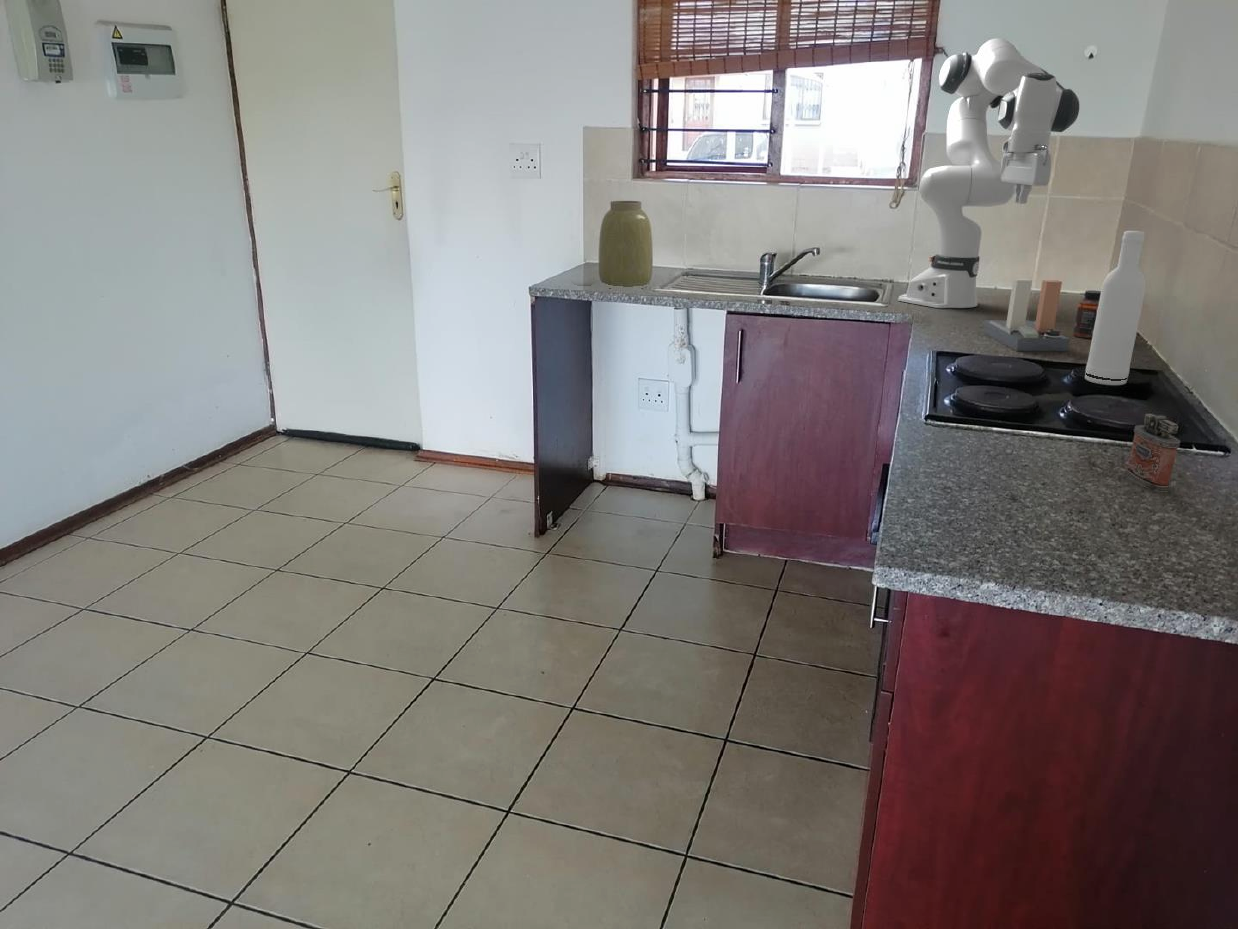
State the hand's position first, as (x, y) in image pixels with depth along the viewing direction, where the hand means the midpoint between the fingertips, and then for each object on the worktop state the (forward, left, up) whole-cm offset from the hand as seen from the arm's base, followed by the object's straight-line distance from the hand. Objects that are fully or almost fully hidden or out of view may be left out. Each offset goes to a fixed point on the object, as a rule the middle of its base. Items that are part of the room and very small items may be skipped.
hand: (1020, 203), depth 227 cm
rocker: (+15, -21, -28) cm, 38 cm away
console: (+11, -13, -31) cm, 36 cm away
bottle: (+38, -38, -32) cm, 62 cm away
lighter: (+62, -95, -32) cm, 118 cm away
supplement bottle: (+20, +4, -32) cm, 37 cm away
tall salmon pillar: (+15, -13, -28) cm, 35 cm away
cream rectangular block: (+10, -16, -28) cm, 34 cm away
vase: (-110, -28, -32) cm, 118 cm away
